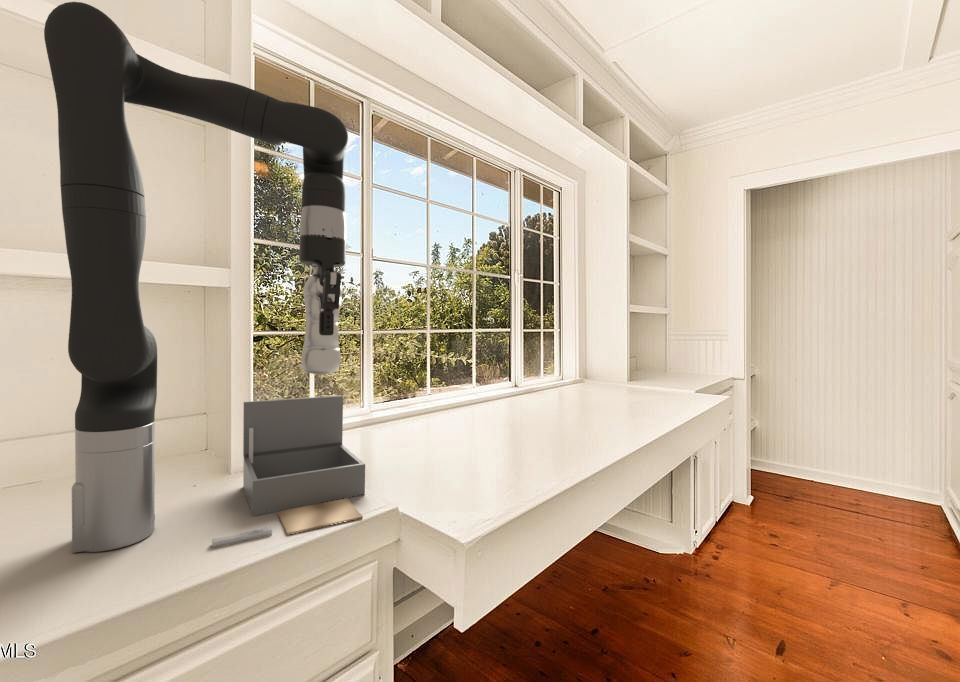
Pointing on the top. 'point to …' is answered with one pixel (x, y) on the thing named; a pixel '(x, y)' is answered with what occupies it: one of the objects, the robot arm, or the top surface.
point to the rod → (241, 537)
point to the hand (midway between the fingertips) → (321, 334)
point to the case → (297, 454)
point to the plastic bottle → (319, 349)
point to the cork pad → (318, 516)
